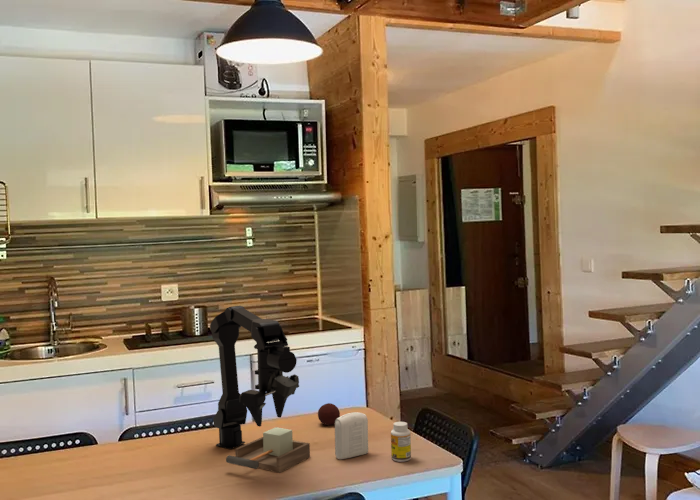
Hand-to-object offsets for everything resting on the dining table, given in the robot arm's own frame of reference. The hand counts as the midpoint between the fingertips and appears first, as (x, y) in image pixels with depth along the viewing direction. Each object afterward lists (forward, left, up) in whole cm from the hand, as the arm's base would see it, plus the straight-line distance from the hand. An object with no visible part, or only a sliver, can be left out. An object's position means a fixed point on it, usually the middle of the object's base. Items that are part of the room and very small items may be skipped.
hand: (269, 421), depth 189 cm
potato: (-7, +40, -13) cm, 43 cm away
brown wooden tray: (-2, +4, -13) cm, 13 cm away
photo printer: (+16, +18, -13) cm, 27 cm away
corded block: (-2, 0, -11) cm, 11 cm away
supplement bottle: (+30, +22, -13) cm, 39 cm away
